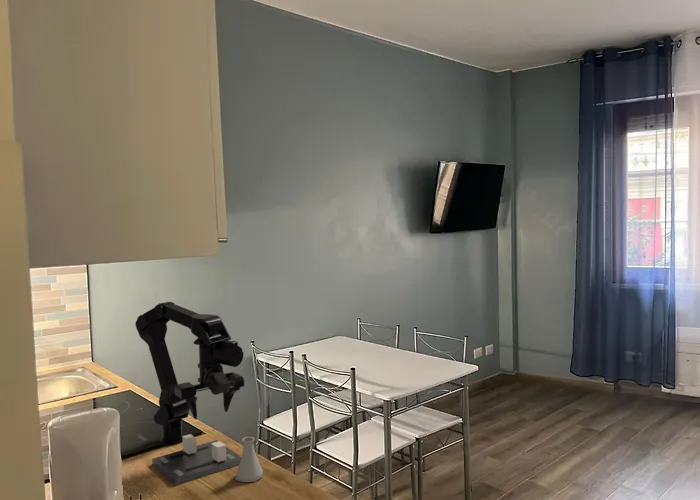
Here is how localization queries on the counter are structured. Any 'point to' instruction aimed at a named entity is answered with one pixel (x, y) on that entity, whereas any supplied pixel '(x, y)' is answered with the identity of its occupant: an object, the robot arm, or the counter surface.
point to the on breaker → (218, 451)
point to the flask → (249, 463)
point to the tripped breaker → (189, 444)
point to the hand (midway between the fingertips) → (210, 415)
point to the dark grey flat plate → (193, 463)
